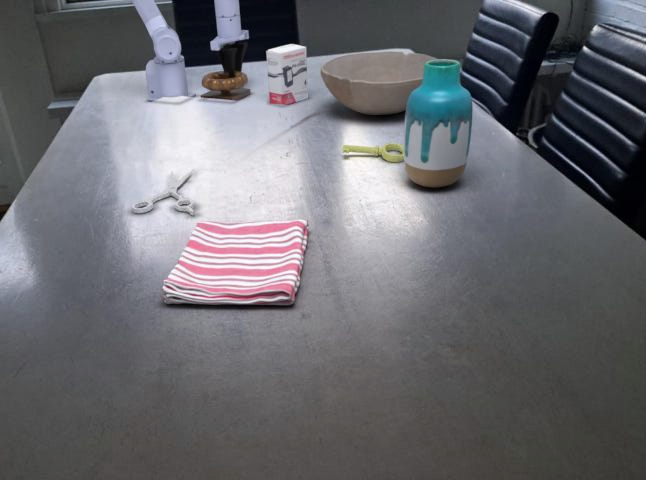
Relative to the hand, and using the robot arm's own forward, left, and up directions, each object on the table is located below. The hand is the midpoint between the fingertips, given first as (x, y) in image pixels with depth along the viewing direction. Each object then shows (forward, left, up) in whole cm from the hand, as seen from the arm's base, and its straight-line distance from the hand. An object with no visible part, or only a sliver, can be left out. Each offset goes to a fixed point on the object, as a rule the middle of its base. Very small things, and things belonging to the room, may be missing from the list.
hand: (233, 76), depth 170 cm
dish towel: (+50, -81, -4) cm, 96 cm away
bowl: (+41, -5, -4) cm, 42 cm away
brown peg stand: (0, -4, -4) cm, 6 cm away
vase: (+65, -43, -4) cm, 78 cm away
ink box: (+17, -3, -4) cm, 18 cm away
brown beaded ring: (0, -4, 0) cm, 4 cm away
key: (+51, -33, -4) cm, 61 cm away
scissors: (+25, -62, -4) cm, 67 cm away
